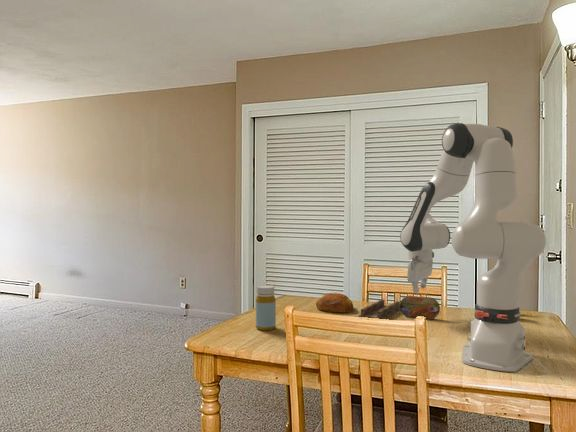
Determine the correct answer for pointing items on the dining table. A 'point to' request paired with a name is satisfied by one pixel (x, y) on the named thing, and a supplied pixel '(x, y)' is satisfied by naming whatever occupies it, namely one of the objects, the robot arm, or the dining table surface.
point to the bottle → (265, 308)
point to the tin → (419, 307)
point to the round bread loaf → (334, 303)
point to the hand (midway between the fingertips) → (419, 290)
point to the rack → (380, 310)
